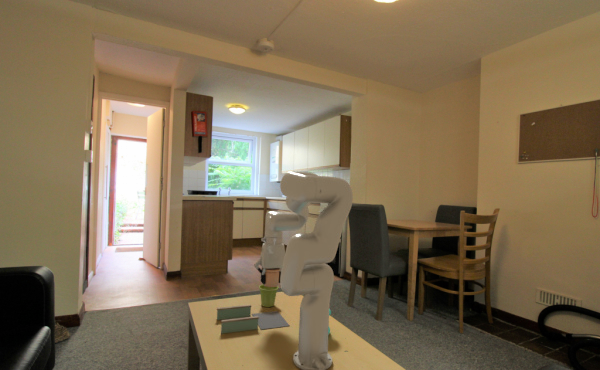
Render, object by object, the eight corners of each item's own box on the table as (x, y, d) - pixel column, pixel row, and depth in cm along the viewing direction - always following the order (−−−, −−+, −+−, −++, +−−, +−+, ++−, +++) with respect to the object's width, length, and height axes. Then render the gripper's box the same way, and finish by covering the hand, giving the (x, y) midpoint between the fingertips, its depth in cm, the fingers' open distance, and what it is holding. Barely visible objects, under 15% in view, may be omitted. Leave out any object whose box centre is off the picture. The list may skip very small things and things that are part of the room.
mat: (289, 326, 126) (289, 325, 126) (260, 329, 122) (260, 329, 122) (277, 311, 141) (277, 311, 141) (251, 314, 137) (251, 313, 137)
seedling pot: (282, 286, 130) (282, 269, 130) (265, 288, 127) (266, 270, 127) (276, 281, 137) (277, 265, 137) (260, 283, 134) (261, 266, 134)
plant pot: (279, 302, 153) (279, 284, 153) (275, 309, 144) (276, 290, 144) (260, 300, 154) (261, 283, 154) (256, 307, 144) (256, 289, 145)
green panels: (258, 329, 122) (258, 317, 122) (221, 333, 117) (221, 321, 117) (250, 315, 136) (250, 304, 136) (216, 318, 130) (216, 307, 130)
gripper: (255, 242, 126) (253, 287, 125) (295, 241, 132) (293, 284, 132) (251, 239, 133) (249, 281, 132) (289, 238, 139) (287, 279, 139)
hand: (271, 282), depth 132 cm, fingers closed on seedling pot, 6 cm apart
